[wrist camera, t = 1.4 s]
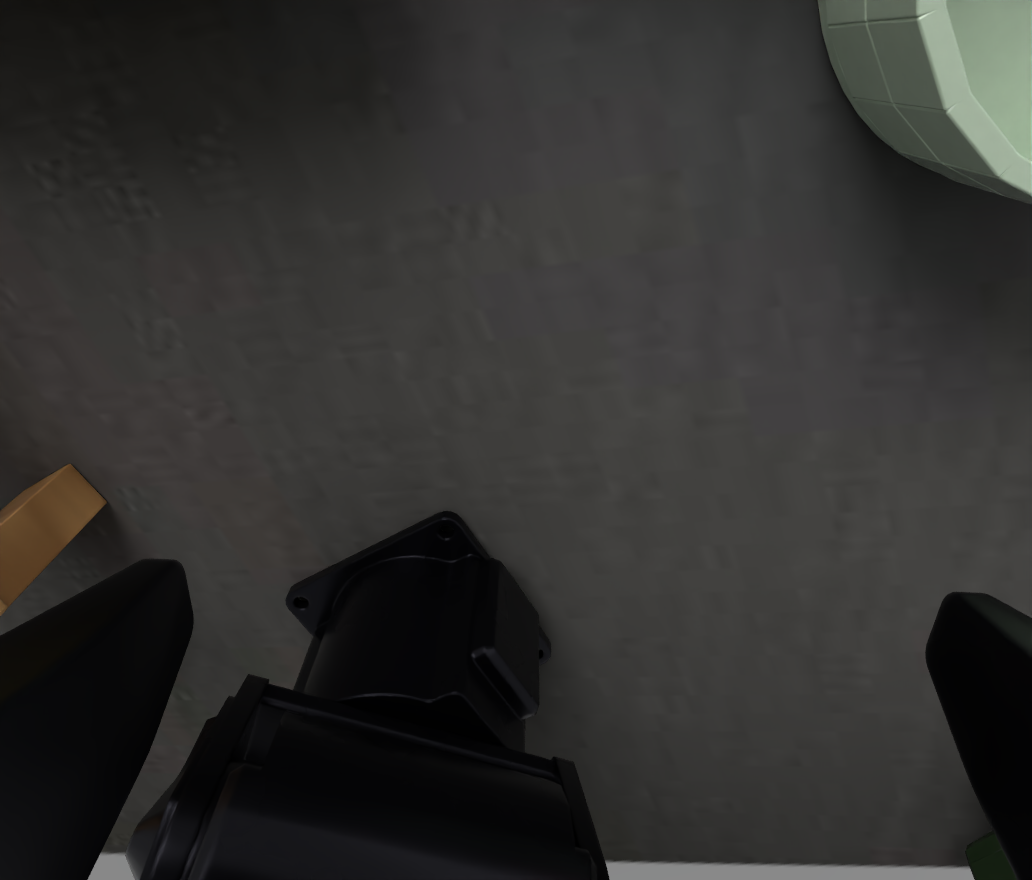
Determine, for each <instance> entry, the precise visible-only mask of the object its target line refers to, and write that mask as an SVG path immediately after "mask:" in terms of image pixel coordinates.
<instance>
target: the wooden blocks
mask: <svg viewBox="0 0 1032 880" xmlns="http://www.w3.org/2000/svg"><path fill="white" fill-rule="evenodd" d="M106 503H107V502H106V500H105V499H104V498H103V497H102V496H101V495H100V494H99V493H98V492H97V491H96V490H95V489H94V488H93V487H92V486H91V485H90V484H89V483H88V482H87V481H86V480H85V479H84V477H83V476H82V475H81V474H80V473H79V472H78V471H77V470H76V469H75V468H74V467H73V466H72V465H71V464H67V465H66V466H64V467H62V468H61V469H59V470H57V471H56V472H54V473H52V474H51V475H49V476H47V477H46V478H44V479H42V480H41V481H39V482H38V483H36V484H34V485H33V486H31V487H29V488H28V489H26V490H24V491H23V492H22V493H20V494H19V495H18V496H17V497H16V498H15V499H13V500H12V501H11V502H10V503H9V504H8V505H7V506H5V507H4V508H3V509H2V510H1V511H0V616H1V615H2V614H3V613H4V612H5V611H6V610H7V608H8V607H9V606H10V605H11V604H12V603H13V602H14V600H15V599H16V598H17V597H18V596H19V595H20V594H21V593H22V592H23V591H24V590H25V589H26V588H27V587H28V586H29V585H30V584H31V583H32V581H33V580H34V579H35V578H36V577H37V576H38V575H39V574H40V573H41V572H42V571H43V570H44V569H45V568H46V567H47V566H48V565H49V564H50V562H51V561H52V560H53V559H54V558H55V557H56V556H57V555H58V554H59V553H60V552H61V551H62V550H63V549H64V548H65V547H66V546H67V545H68V543H69V542H70V541H71V540H72V539H73V538H74V537H75V536H76V535H77V534H78V533H79V532H80V531H81V530H82V529H83V528H84V527H85V526H86V524H87V523H88V522H89V521H90V520H91V519H92V518H93V517H94V516H95V515H96V514H97V513H98V512H99V511H100V510H101V509H102V508H103V507H104V505H105V504H106Z"/></svg>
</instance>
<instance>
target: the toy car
mask: <svg viewBox="0 0 1032 880" xmlns="http://www.w3.org/2000/svg"><path fill="white" fill-rule="evenodd" d="M965 853H966V856H967V859H968V863H969V866H970V869H971V871H972V874H973V877H974V879H975V880H1017V878H1016V876H1015V874H1014V872H1013V870H1012V868H1011V866H1010V864H1009V862H1008V860H1007V858H1006V856H1005V854H1004V852H1003V850H1002V848H1001V846H1000V844H999V842H998V840H997V838H996V835H995V833H994V831H991V832H989V833H988V834H986V835H984V836H983V837H981V838H979V839H978V840H976V841H974V842H972V843H971V844H969V845H967V848H966V851H965Z"/></svg>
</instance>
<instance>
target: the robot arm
mask: <svg viewBox="0 0 1032 880" xmlns="http://www.w3.org/2000/svg"><path fill="white" fill-rule="evenodd" d="M443 525H448V526H451V527H452V528H453V529H454V530H453V531H450V532H446V531H443V530H442V529H440V527H441V526H443ZM298 597H304V598H306V599H307V600H308V601H301V600H300V599H299V598H298ZM286 605H287V607H288V609H289V610H290V611H291V612H292V613H293V614H294V615H295V617H296V618H297V619H298V620H299V621H300V622H301V623H302V624H303V625H304V627H305V628H306V629H307V630H308V631H309V632H310V633H311V634H312V636H313V639H312V641H311V644H310V647H309V649H308V652H307V655H306V657H305V660H304V663H303V665H302V668H301V671H300V673H299V676H298V678H297V681H296V684H295V686H294V689H293V690H290V689H286V688H283V687H279V686H275V685H271V684H269V679H266V678H262V677H258V676H254V675H251V674H248V675H247V677H246V679H245V681H244V682H243V684H242V686H241V688H240V689H239V691H238V693H237V695H236V696H235V697H232V696H229V697H228V698H227V700H226V701H225V703H224V705H223V707H222V708H221V710H220V712H219V714H218V715H217V716H216V717H213V718H210V719H207V721H206V723H205V725H204V727H203V729H202V731H201V733H200V735H199V737H198V739H197V741H196V743H195V745H194V747H193V749H192V751H191V753H190V755H189V757H188V759H187V761H186V763H185V765H184V767H183V768H182V770H181V772H180V774H179V775H178V777H177V778H176V779H175V781H174V782H173V783H172V784H171V785H170V787H169V788H168V789H167V790H166V791H165V793H164V794H163V795H162V796H161V797H160V799H159V800H158V801H157V802H156V803H155V804H154V806H153V807H152V808H151V809H150V810H149V812H148V813H147V814H146V815H145V816H144V818H143V819H142V820H141V821H140V822H139V824H138V825H137V827H136V829H135V831H134V833H133V835H132V837H131V840H130V842H129V845H128V848H127V851H126V855H125V856H126V859H127V861H128V864H129V865H130V869H131V871H132V873H133V876H134V878H135V880H609V876H608V871H607V867H606V863H605V860H604V857H603V854H602V851H601V847H600V844H599V841H598V838H597V835H596V831H595V828H594V825H593V822H592V819H591V815H590V812H589V809H588V806H587V803H586V799H585V796H584V793H583V790H582V787H581V783H580V780H579V777H578V774H577V771H576V767H575V764H574V762H573V761H569V760H565V759H562V758H558V757H553V758H552V759H551V760H550V759H546V758H542V757H539V756H535V755H531V754H528V753H525V719H526V718H528V717H531V716H533V715H536V713H537V710H538V707H539V665H541V664H544V663H545V662H547V661H548V660H549V658H550V657H551V643H550V641H549V639H548V638H547V636H546V635H545V633H544V632H543V631H542V629H541V628H540V627H539V616H538V613H537V611H536V610H535V608H534V607H533V606H532V604H531V603H530V601H529V600H528V599H527V597H526V596H525V595H524V593H523V592H522V590H521V589H520V588H519V586H518V585H517V583H516V582H515V581H514V579H513V578H512V576H511V575H510V574H509V572H508V571H507V569H506V568H505V567H504V565H503V564H502V562H501V561H499V560H496V559H494V558H490V557H489V556H488V555H487V553H486V552H485V550H484V549H483V548H482V546H481V545H480V544H479V542H478V541H477V539H476V538H475V537H474V535H473V534H472V532H471V531H470V530H469V528H468V527H467V526H466V524H465V523H464V521H463V520H462V519H461V518H460V517H459V516H458V515H457V514H455V513H453V512H450V511H443V512H440V513H437V514H435V515H433V516H431V517H429V518H427V519H425V520H423V521H421V522H419V523H417V524H415V525H413V526H411V527H409V528H407V529H405V530H403V531H401V532H399V533H397V534H395V535H393V536H391V537H389V538H387V539H385V540H383V541H381V542H379V543H377V544H375V545H373V546H371V547H369V548H367V549H365V550H363V551H361V552H359V553H357V554H355V555H353V556H351V557H349V558H347V559H345V560H343V561H341V562H339V563H337V564H335V565H333V566H331V567H329V568H327V569H325V570H323V571H321V572H319V573H317V574H315V575H313V576H310V577H308V578H306V579H304V580H302V581H300V582H298V583H296V584H295V585H293V586H292V587H291V588H290V591H289V593H288V595H287V597H286ZM193 623H194V618H193V610H192V605H191V600H190V595H189V590H188V585H187V580H186V574H185V571H184V568H183V566H182V564H181V563H180V562H178V561H177V560H169V559H143V560H141V561H138V562H137V563H135V564H133V565H131V566H129V567H127V568H125V569H124V570H122V571H120V572H118V573H116V574H114V575H112V576H111V577H109V578H107V579H105V580H103V581H101V582H99V583H98V584H96V585H94V586H92V587H90V588H88V589H86V590H85V591H83V592H81V593H79V594H77V595H75V596H73V597H72V598H70V599H68V600H66V601H64V602H62V603H60V604H59V605H57V606H55V607H53V608H51V609H49V610H47V611H45V612H44V613H42V614H40V615H38V616H36V617H34V618H32V619H31V620H29V621H27V622H25V623H23V624H21V625H19V626H18V627H16V628H14V629H12V630H10V631H8V632H6V633H5V634H3V635H1V636H0V880H87V879H88V877H89V875H90V873H91V871H92V869H93V867H94V865H95V863H96V861H97V859H98V857H99V855H100V853H101V851H102V849H103V847H104V845H105V843H106V840H107V838H108V836H109V834H110V832H111V830H112V828H113V826H114V824H115V822H116V820H117V818H118V816H119V814H120V812H121V810H122V808H123V806H124V804H125V802H126V799H127V797H128V795H129V793H130V791H131V789H132V787H133V785H134V783H135V781H136V779H137V777H138V775H139V773H140V771H141V768H142V766H143V764H144V762H145V760H146V758H147V755H148V753H149V751H150V748H151V746H152V743H153V741H154V738H155V735H156V733H157V730H158V727H159V724H160V722H161V719H162V716H163V713H164V711H165V708H166V705H167V702H168V699H169V697H170V694H171V691H172V688H173V685H174V683H175V680H176V677H177V674H178V671H179V669H180V666H181V663H182V660H183V657H184V655H185V652H186V649H187V646H188V644H189V641H190V638H191V635H192V630H193ZM539 648H540V649H541V650H539ZM925 653H926V663H927V667H928V670H929V673H930V675H931V678H932V681H933V684H934V686H935V689H936V692H937V694H938V697H939V700H940V703H941V705H942V708H943V711H944V713H945V716H946V719H947V722H948V724H949V727H950V730H951V732H952V735H953V738H954V741H955V743H956V746H957V749H958V751H959V754H960V757H961V760H962V762H963V765H964V768H965V770H966V772H967V775H968V777H969V780H970V782H971V785H972V787H973V789H974V792H975V794H976V796H977V798H978V800H979V802H980V805H981V807H982V809H983V811H984V813H985V815H986V817H987V819H988V821H989V823H990V825H991V827H992V829H993V831H994V833H995V835H996V838H997V840H998V842H999V844H1000V846H1001V848H1002V850H1003V852H1004V854H1005V856H1006V858H1007V860H1008V862H1009V864H1010V866H1011V868H1012V870H1013V872H1014V874H1015V876H1016V878H1017V880H1032V618H1030V617H1029V616H1027V615H1025V614H1023V613H1021V612H1019V611H1018V610H1016V609H1014V608H1012V607H1010V606H1009V605H1007V604H1005V603H1003V602H1001V601H1000V600H998V599H996V598H994V597H992V596H990V595H988V594H984V593H970V592H952V593H950V594H948V595H947V596H946V597H945V598H944V599H943V601H942V603H941V606H940V609H939V611H938V614H937V617H936V620H935V622H934V625H933V628H932V631H931V633H930V636H929V639H928V642H927V645H926V652H925Z"/></svg>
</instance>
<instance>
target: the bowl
mask: <svg viewBox="0 0 1032 880" xmlns="http://www.w3.org/2000/svg"><path fill="white" fill-rule="evenodd" d="M818 6H819V13H820V20H821V27H822V33H823V37H824V40H825V44H826V48H827V51H828V55H829V58H830V62H831V64H832V67H833V69H834V71H835V74H836V76H837V78H838V80H839V83H840V85H841V87H842V90H843V91H844V93H845V95H846V96H847V98H848V99H849V101H850V102H851V104H852V106H853V107H854V109H855V110H856V112H857V114H858V115H859V116H860V117H861V118H862V120H863V121H864V122H865V123H866V124H867V125H868V126H869V128H870V129H871V130H872V131H873V132H874V133H875V134H876V135H877V136H878V137H879V138H880V139H881V140H883V141H884V142H885V143H886V144H887V145H889V146H890V147H891V148H892V149H894V150H895V151H896V152H897V153H899V154H901V155H902V156H904V157H906V158H908V159H909V160H911V161H913V162H914V163H916V164H918V165H920V166H922V167H924V168H927V169H930V170H932V171H935V172H938V173H940V174H942V175H944V176H946V177H948V178H949V179H951V180H953V181H956V182H959V183H963V184H966V185H969V186H973V187H976V188H979V189H982V190H986V191H989V192H992V193H996V194H999V195H1002V196H1005V197H1009V198H1012V199H1015V200H1019V201H1022V202H1025V203H1028V204H1032V0H818Z"/></svg>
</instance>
